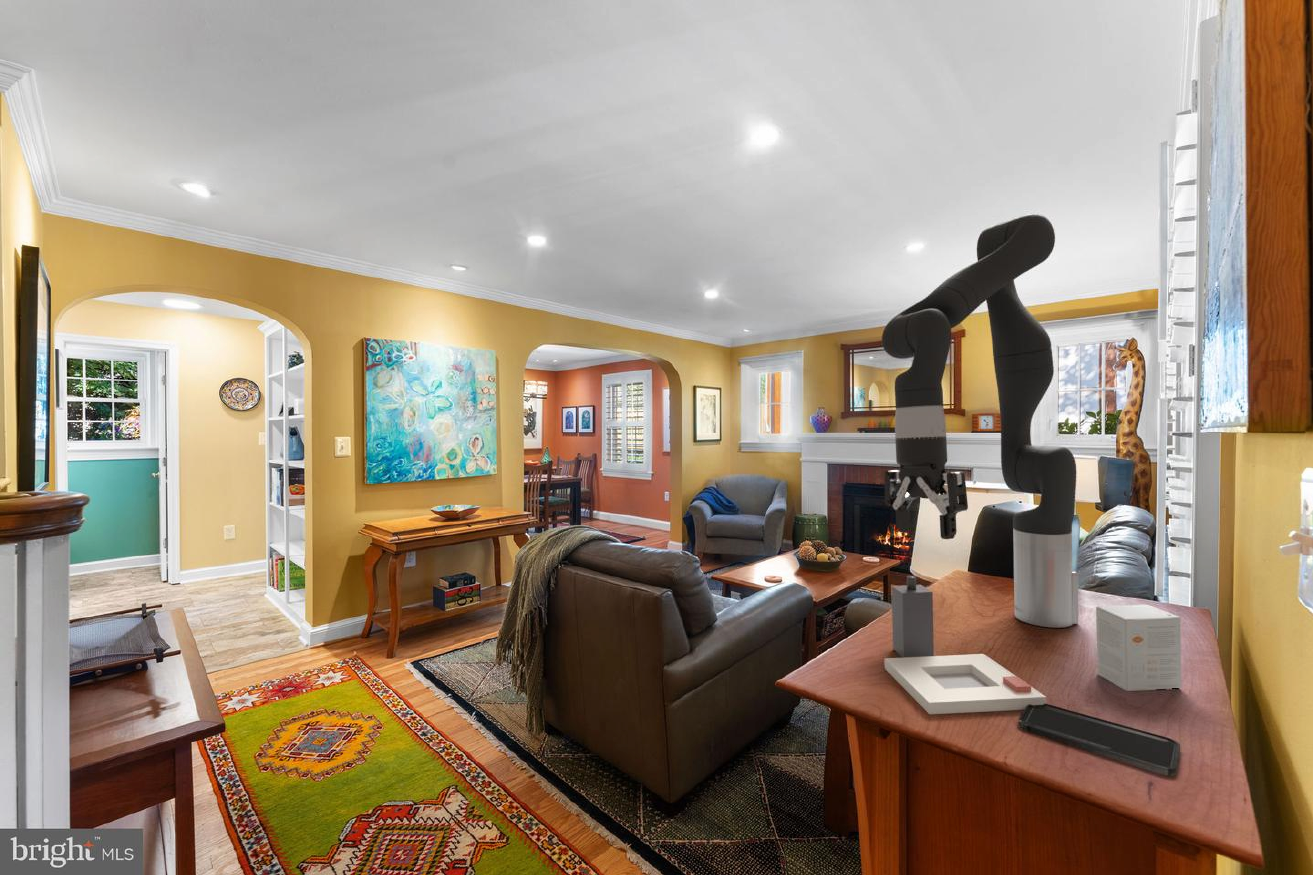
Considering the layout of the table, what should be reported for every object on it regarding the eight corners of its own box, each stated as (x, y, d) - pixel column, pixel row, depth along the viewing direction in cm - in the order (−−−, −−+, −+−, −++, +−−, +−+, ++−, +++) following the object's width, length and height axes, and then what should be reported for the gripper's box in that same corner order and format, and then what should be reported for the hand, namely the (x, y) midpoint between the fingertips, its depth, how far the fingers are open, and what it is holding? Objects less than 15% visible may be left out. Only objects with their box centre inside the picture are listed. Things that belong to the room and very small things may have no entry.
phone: (1031, 699, 77) (1180, 740, 67) (1031, 707, 77) (1181, 750, 67) (1015, 722, 72) (1175, 771, 61) (1016, 731, 72) (1175, 781, 61)
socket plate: (983, 663, 90) (983, 648, 90) (1046, 708, 76) (1046, 690, 76) (884, 668, 90) (884, 653, 90) (929, 714, 76) (929, 696, 76)
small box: (1148, 672, 85) (1148, 603, 85) (1182, 690, 80) (1182, 616, 79) (1095, 674, 85) (1094, 605, 85) (1125, 692, 80) (1125, 618, 80)
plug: (921, 647, 97) (920, 573, 97) (933, 657, 93) (932, 579, 93) (893, 649, 97) (891, 574, 96) (903, 659, 93) (902, 581, 92)
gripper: (976, 433, 87) (981, 538, 86) (903, 436, 100) (907, 528, 99) (940, 434, 84) (945, 543, 83) (870, 437, 97) (874, 532, 96)
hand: (925, 535), depth 91 cm, fingers open, 8 cm apart
